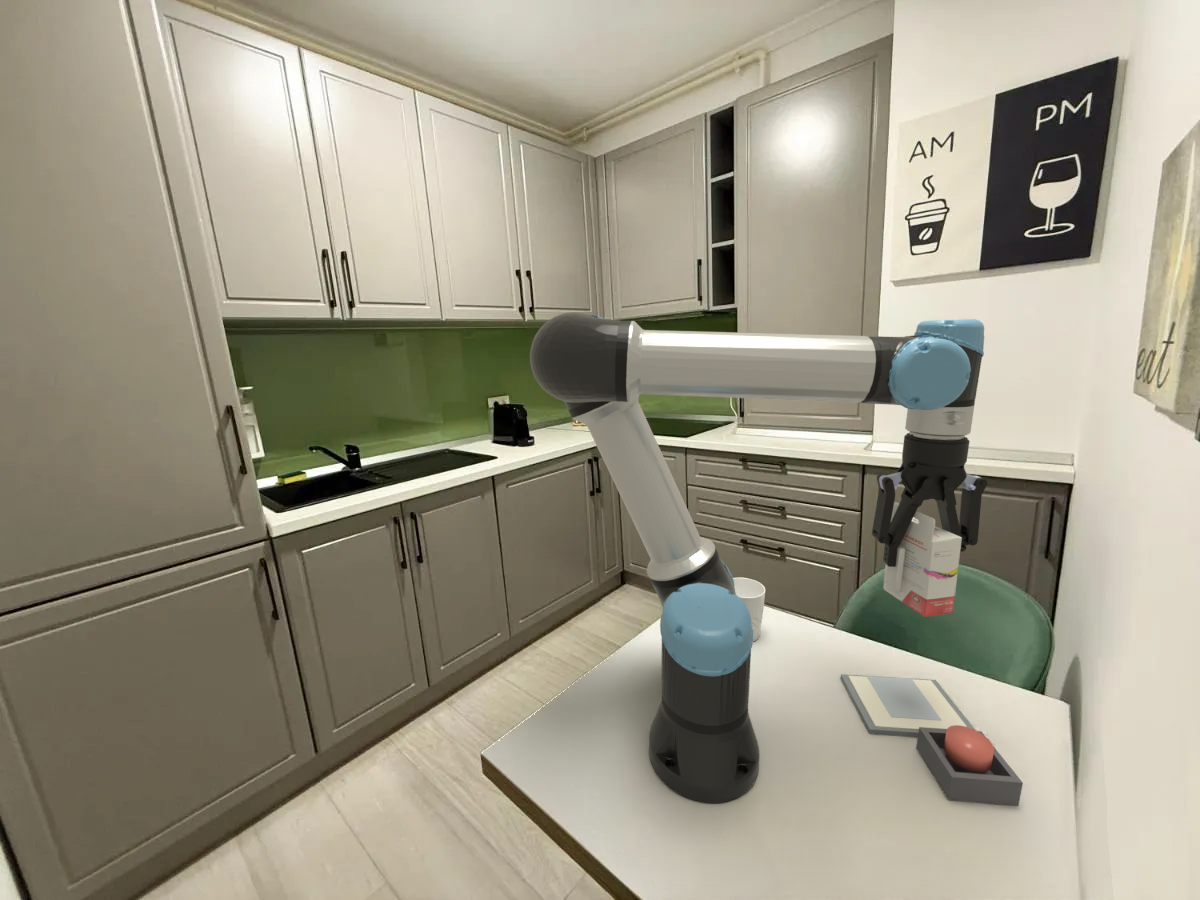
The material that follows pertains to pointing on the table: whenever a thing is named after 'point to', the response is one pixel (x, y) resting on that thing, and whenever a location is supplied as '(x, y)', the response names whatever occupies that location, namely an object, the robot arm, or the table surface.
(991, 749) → the button
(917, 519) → the ink cartridge box
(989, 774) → the button housing
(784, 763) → the table surface
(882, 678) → the board
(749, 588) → the white cup
